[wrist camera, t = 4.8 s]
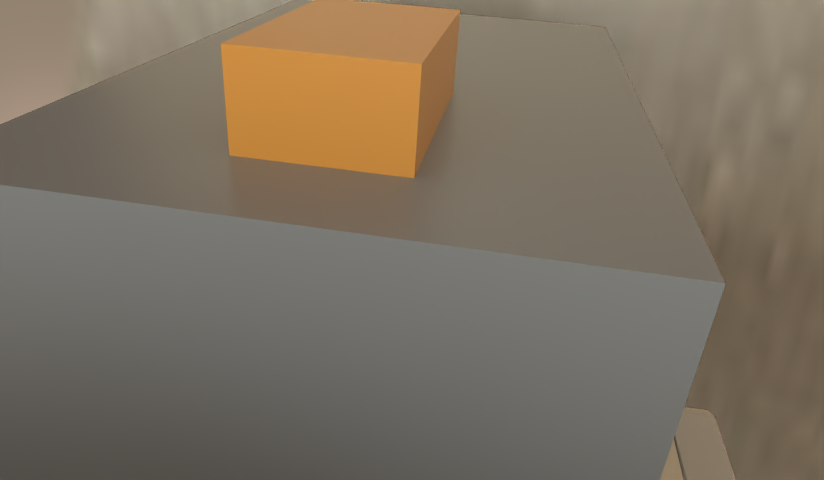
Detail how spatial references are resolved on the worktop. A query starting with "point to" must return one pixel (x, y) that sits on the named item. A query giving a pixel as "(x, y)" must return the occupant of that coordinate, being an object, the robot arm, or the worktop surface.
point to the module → (350, 260)
